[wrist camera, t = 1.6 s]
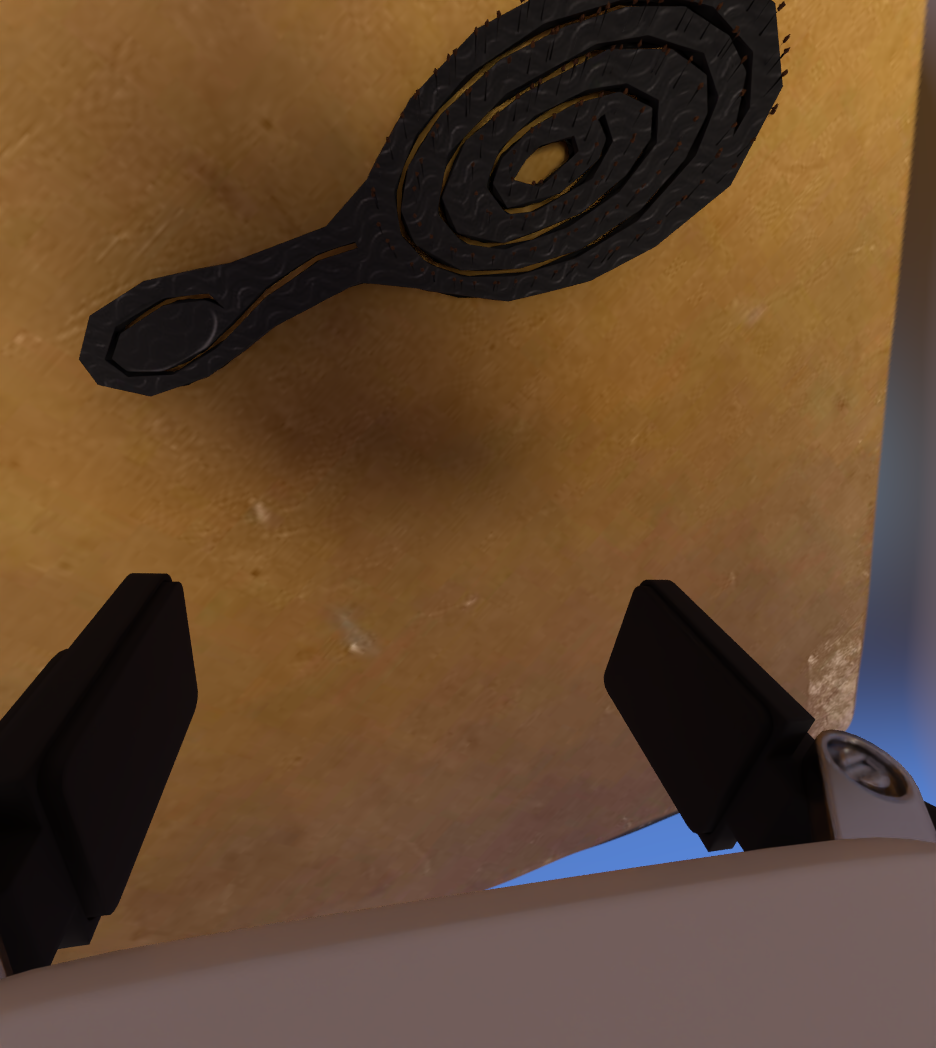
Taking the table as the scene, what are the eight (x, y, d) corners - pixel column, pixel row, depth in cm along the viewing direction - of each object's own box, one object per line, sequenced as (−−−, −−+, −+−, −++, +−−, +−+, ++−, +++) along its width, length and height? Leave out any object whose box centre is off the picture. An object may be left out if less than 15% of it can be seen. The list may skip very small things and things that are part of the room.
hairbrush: (-68, 246, 13) (807, -181, 11) (22, 249, 16) (715, -86, 15) (145, 492, 17) (805, 202, 16) (183, 456, 20) (734, 212, 19)
